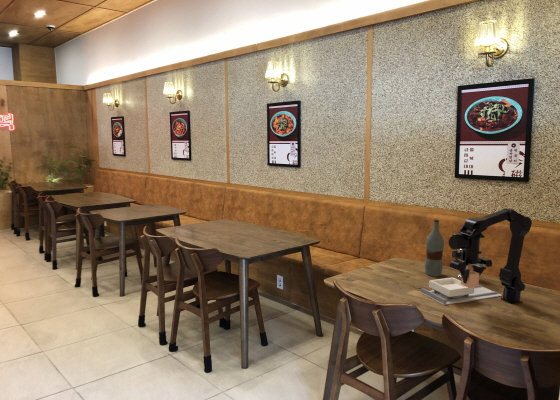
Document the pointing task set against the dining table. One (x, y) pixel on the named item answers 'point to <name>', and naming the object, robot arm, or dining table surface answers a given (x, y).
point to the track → (477, 295)
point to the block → (471, 280)
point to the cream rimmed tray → (450, 287)
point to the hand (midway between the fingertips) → (469, 282)
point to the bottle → (434, 251)
